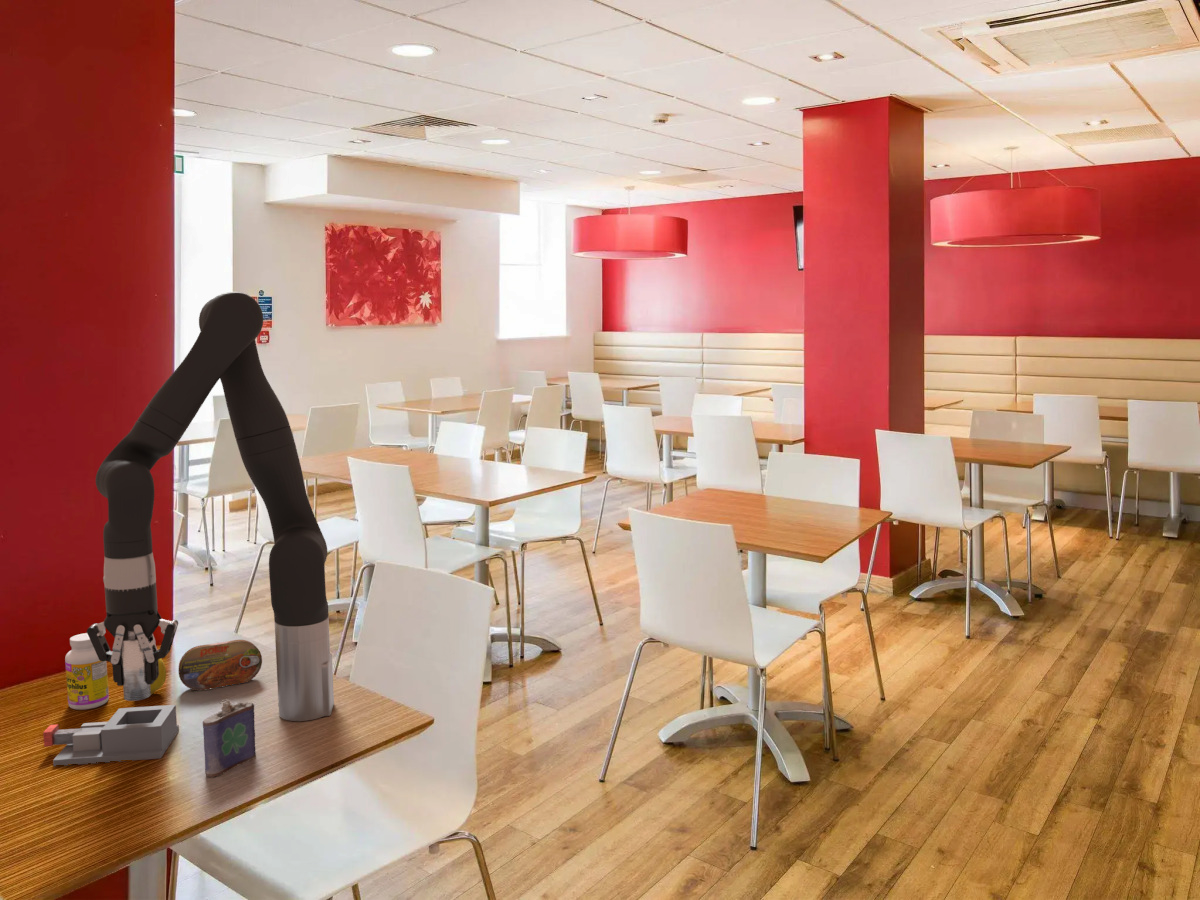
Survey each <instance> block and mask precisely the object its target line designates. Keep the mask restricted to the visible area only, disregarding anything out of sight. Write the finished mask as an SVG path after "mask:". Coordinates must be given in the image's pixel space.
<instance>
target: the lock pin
mask: <svg viewBox="0 0 1200 900" xmlns="http://www.w3.org/2000/svg"><path fill="white" fill-rule="evenodd" d="M102 728H103V727H92V728H81V727H80V728H68V729H67V728H66V729H60V727H59V724H50V725H48V727H47V728H46V729H45V730H43V732H42V736H43V747H54V746H57V745H58V746H59V745H67V744H73V735H74V733H78V732H92V731H101V729H102Z"/></svg>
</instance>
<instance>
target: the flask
mask: <svg viewBox="0 0 1200 900" xmlns="http://www.w3.org/2000/svg"><path fill="white" fill-rule="evenodd" d="M219 704H222V707H221V711H218V712H217V713H214V714H213V715H211V716H209V717H206V718H205V719H203V721H202V730H203V733H202V734H203V750H204V767H205V768H204V769H205V770H204V774H205V776H206V777H207V778H211V779H213V778H214V777H219V776H222V775H224V773H227V772H230V771H232V770H234V769H236V768H237V767H238V766H240V765H243V764H244V763H246V762H249V761H251V760H254V759H256V758H257V756H256V755H257V754H256V753H257V752H256V731H255V730H256V728H255V715H256V714H255V704H254V703H252V702H249V701H244V702H242V701H240V702H238V703H236V704H232V702H231V701H230V699H227V698H224V699H222V700H221V701H220V702H219Z"/></svg>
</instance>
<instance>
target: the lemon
mask: <svg viewBox="0 0 1200 900" xmlns="http://www.w3.org/2000/svg"><path fill="white" fill-rule="evenodd" d="M158 665H159V676H158V678H157V679H156V680H155V682H154V683H153V684H150V688H151V695H154V694H155V692H156V691H158V690H160V689H161V688H162V686H163V685H165V682H166V679H167V669H166V665H165V662H164V661H163V658H161V659H158Z"/></svg>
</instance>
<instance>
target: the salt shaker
mask: <svg viewBox="0 0 1200 900" xmlns="http://www.w3.org/2000/svg"><path fill="white" fill-rule="evenodd" d="M121 659H122V675H123V686H122V687H123V688H122V690H123V691H122V692H123V700H125V701H128V702H135V701H137V702H138V701H141V700H145V699H148V698H149V697H151V695H152V694H151V688H150V684H147V672H146V663H147V662H148V661H147V659H146V656H145V654H144V651H143V650H142V649H141V646H140V643H139V640H138V639H135V631H134V630H132V631H128V640H123V642H122V649H121Z"/></svg>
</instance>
